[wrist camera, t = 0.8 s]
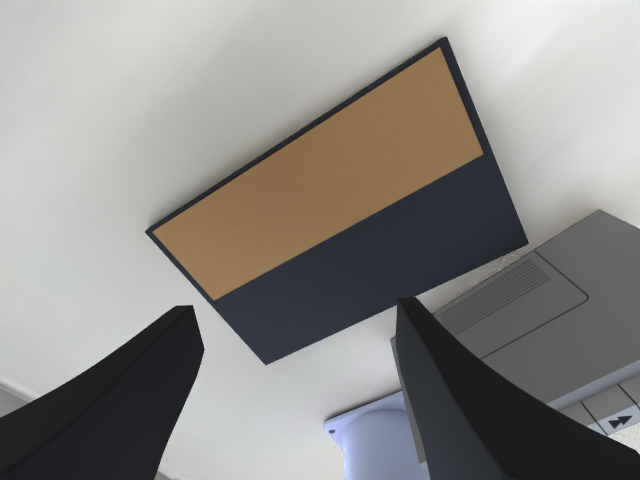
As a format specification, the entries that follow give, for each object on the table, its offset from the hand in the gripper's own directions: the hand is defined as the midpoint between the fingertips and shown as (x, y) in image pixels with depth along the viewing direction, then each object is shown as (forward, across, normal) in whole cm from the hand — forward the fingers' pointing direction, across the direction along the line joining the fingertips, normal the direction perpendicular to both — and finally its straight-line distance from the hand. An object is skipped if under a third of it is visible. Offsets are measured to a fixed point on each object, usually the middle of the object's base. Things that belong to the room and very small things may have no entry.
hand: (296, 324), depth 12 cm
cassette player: (+10, -12, +6) cm, 17 cm away
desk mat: (+10, -2, +1) cm, 10 cm away
